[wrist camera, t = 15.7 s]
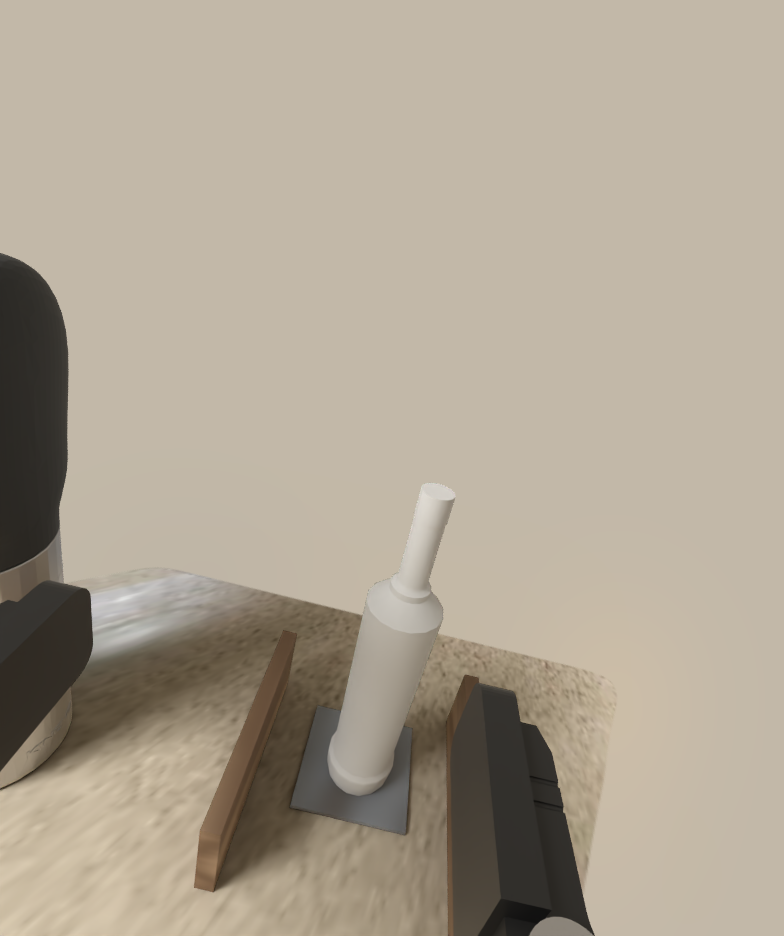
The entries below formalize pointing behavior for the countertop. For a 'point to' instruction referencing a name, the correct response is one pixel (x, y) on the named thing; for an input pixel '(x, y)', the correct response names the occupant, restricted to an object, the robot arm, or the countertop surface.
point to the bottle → (390, 654)
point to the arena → (312, 775)
